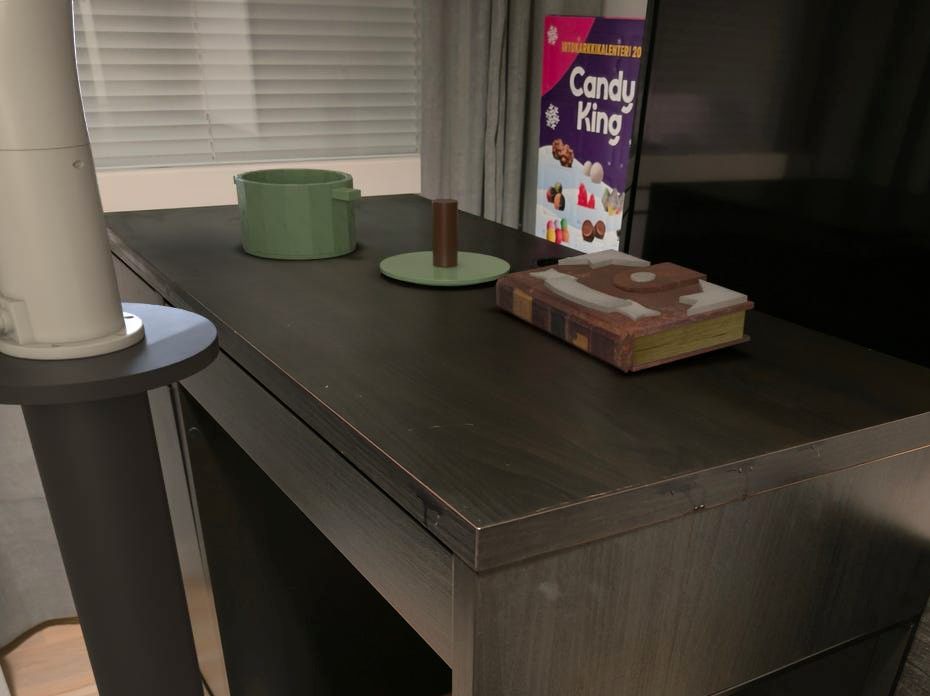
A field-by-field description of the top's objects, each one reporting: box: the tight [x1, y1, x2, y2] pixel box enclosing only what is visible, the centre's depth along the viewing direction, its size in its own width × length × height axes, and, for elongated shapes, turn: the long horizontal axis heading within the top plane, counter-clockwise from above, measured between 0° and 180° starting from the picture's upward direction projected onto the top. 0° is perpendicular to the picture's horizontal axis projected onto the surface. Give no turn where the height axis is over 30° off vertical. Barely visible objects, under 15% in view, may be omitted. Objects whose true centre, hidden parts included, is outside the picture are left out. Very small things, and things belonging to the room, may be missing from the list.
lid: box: [379, 198, 511, 287], centre depth 108 cm, size 16×16×8 cm
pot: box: [232, 167, 362, 261], centre depth 119 cm, size 15×20×8 cm
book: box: [495, 248, 755, 374], centre depth 90 cm, size 23×16×5 cm
